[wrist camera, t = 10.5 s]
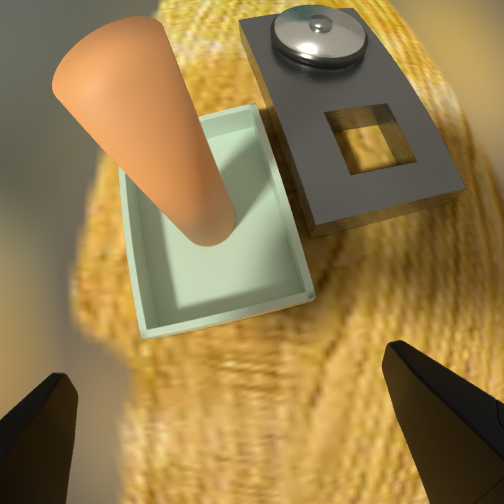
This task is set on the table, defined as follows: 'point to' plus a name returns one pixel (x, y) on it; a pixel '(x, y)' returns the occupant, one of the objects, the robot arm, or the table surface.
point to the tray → (226, 253)
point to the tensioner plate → (345, 117)
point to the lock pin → (147, 123)
